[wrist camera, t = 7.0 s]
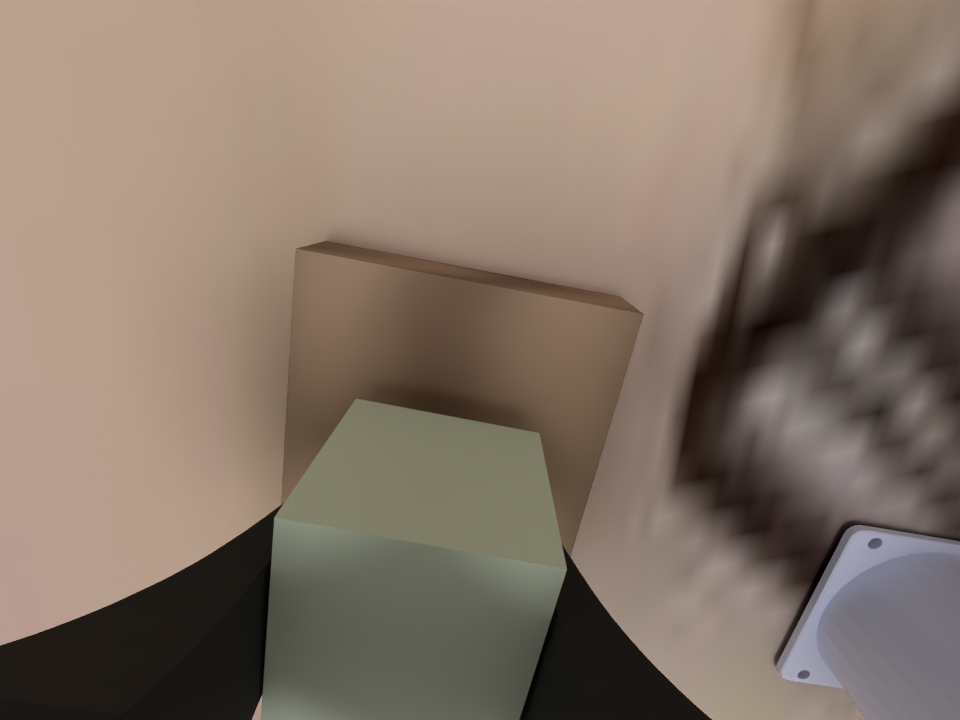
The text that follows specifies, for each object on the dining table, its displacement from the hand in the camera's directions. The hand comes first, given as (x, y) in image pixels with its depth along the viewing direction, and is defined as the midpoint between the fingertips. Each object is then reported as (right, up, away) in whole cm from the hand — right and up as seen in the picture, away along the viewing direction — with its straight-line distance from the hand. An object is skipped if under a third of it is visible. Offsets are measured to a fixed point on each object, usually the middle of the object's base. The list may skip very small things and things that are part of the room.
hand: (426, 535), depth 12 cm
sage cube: (0, +1, +1) cm, 2 cm away
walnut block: (0, +2, +6) cm, 6 cm away
